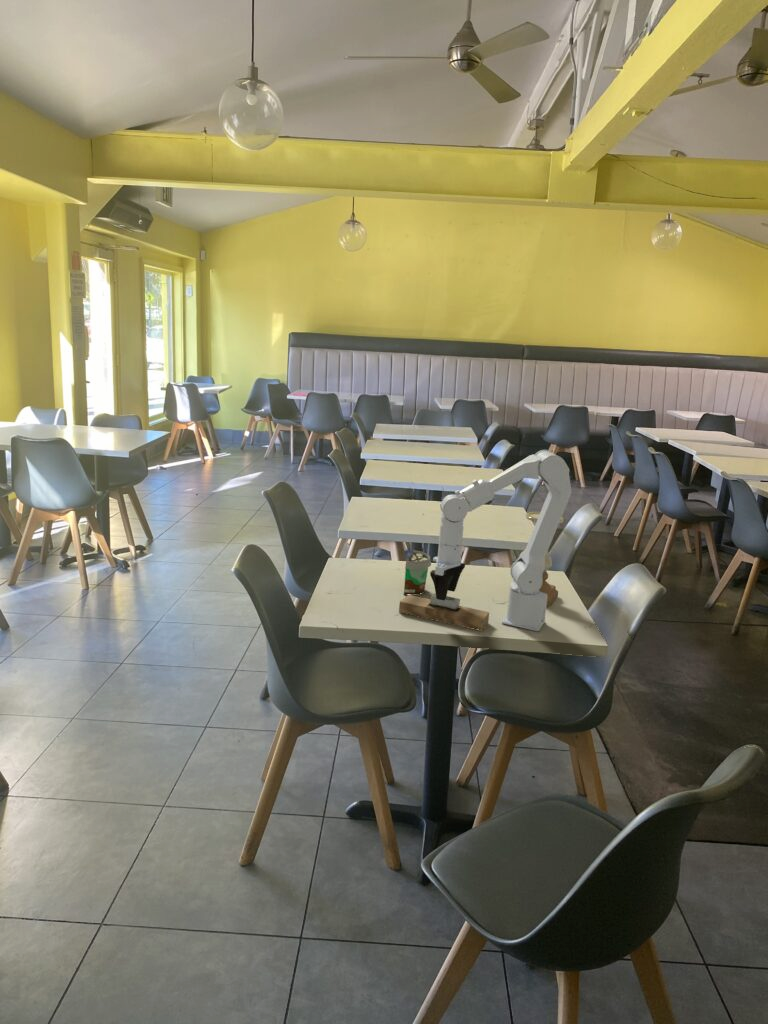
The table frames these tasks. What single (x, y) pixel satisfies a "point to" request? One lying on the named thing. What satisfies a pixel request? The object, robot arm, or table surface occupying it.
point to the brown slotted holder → (444, 613)
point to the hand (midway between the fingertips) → (445, 594)
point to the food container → (416, 572)
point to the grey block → (445, 602)
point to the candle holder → (545, 567)
